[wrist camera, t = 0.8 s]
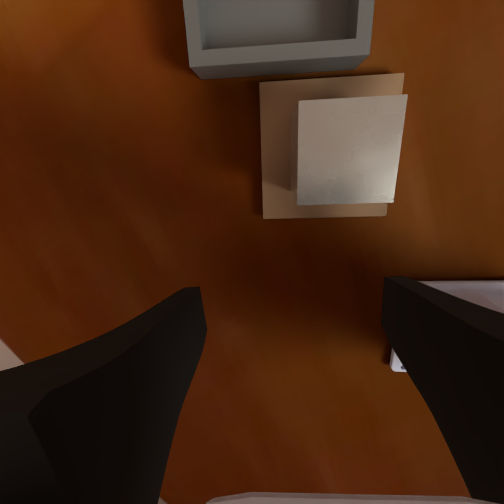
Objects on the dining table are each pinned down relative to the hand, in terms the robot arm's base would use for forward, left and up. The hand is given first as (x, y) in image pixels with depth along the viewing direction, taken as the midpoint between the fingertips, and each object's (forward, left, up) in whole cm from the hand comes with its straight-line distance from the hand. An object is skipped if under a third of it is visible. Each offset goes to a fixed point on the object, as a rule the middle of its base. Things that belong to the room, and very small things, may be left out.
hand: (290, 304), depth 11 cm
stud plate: (-3, -5, -9) cm, 11 cm away
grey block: (-3, -6, -9) cm, 11 cm away
